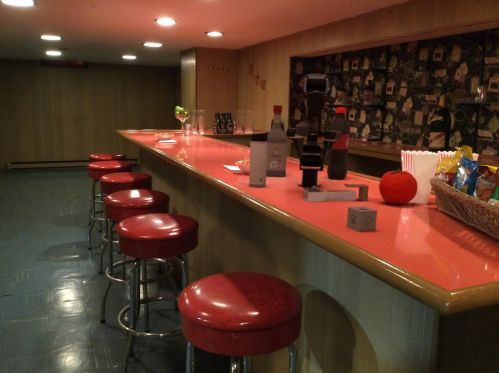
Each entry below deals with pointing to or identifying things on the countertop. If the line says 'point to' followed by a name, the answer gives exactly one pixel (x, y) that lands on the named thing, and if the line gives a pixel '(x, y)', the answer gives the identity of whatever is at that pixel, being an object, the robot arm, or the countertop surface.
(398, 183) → the tomato
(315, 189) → the dark round cylinder
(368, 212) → the dice cube
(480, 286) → the countertop surface
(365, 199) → the block
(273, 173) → the liquor
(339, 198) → the square scoop
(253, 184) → the travel mug
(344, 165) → the cola bottle
